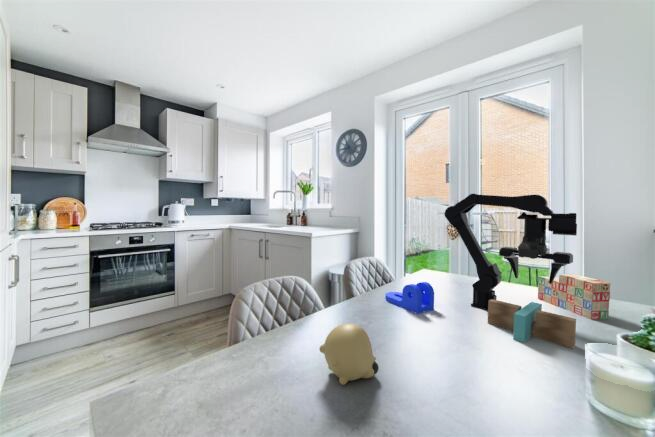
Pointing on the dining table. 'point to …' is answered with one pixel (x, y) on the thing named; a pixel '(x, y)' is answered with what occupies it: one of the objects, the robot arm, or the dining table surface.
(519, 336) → the teal slotted plate
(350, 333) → the toy pig
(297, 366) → the dining table surface
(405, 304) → the bracket
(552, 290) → the stack of blocks
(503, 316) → the walnut slotted board
